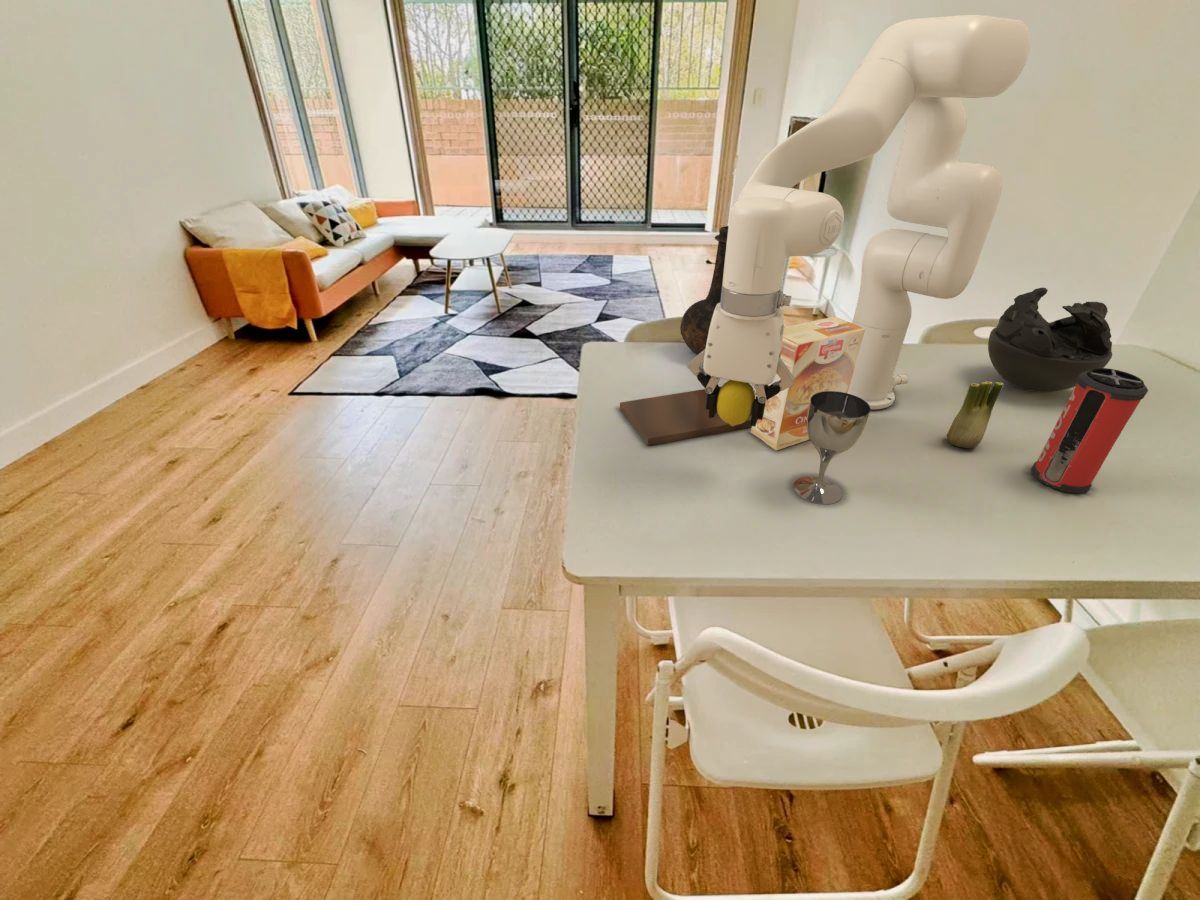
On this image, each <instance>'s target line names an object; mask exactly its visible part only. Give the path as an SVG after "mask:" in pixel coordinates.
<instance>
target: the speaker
mask: <svg viewBox="0 0 1200 900" xmlns="http://www.w3.org/2000/svg"><path fill="white" fill-rule="evenodd" d="M1148 392H1149V389H1148V387H1147V386H1146V384H1145V382H1144V380H1143V379H1142V378H1140V377H1138V376H1136V375H1134V374H1132V373H1130V372H1126V371H1123V370H1118V369H1113V368H1106V367H1104V368H1094V369H1091V370H1089V371H1086V372H1083V373H1081V374H1080V375H1079V377H1078V379H1077V384H1076V386H1075V387H1073V390H1072V392H1071V394H1070V396H1069V398H1068V400H1067V402H1066V404H1065V406H1064V408H1063V410H1062V411H1061V414H1060V416H1059V418H1058V420H1057V421H1056V423H1055V425H1054V426H1053V429H1052V431H1051V432H1050V435H1049V437H1048V439H1047V440H1046V442H1045V445H1044V447H1043V448H1042V450H1041V452H1040V454H1039V456H1038V458H1037V461H1035V462H1034V463H1033V465H1032V467H1031V473H1032V475H1033V476H1034V478H1035V479H1036V480H1037V481H1038V482H1040V483H1041V484H1043V485H1046V486H1048V487H1051V488H1052V489H1054V490H1056V491H1059V492H1063V493H1076V494H1077V493H1078V494H1080V493H1085V492H1088V491H1090V490H1091V488H1092V483H1093V481H1094V479H1095V478H1096V476H1097V474H1099V472H1100V470H1101V468H1102V466H1103V464H1104V462H1105V460H1106V459H1107V457H1108V455H1109V454H1110V453H1111V450H1112V449H1113V447H1114V446H1115V443H1116V442H1117V440H1118V439H1119V437H1120V435H1121V433H1122V432H1123V431H1124V428H1125V427H1126V425H1127V423H1128V422H1129V420H1130V419H1131V417H1132V416H1133V414H1134V412H1135V411H1136V409H1137V407H1138V406H1139V404H1140V402H1141V401H1142V400H1143V399H1144V398H1145V396H1146V395H1147V394H1148Z"/></svg>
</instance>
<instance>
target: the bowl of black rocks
mask: <svg viewBox="0 0 1200 900" xmlns="http://www.w3.org/2000/svg"><path fill="white" fill-rule="evenodd" d="M1048 291H1049V289H1047V287H1038V288H1035V289H1033V290H1032V291H1029V292H1025V293H1022V294H1018V295H1017V296H1016V297H1015V298H1013V301H1014V303H1013V304H1011V305H1009V307H1008V308H1007V309H1005V310H1004V312H1003V314H1002V315H1001V316H999V320H998V323H997V325H996V327H994V328H993V329H992V330H991V331H990V333H989V337H988V342H987V350H988V357H989V360H990V362H991V364H992V365H991V366H992V367H993V368H994V370H995V372H997V374H998V375H999V376H1000V377H1001V378H1002V379H1003V380H1005V381H1006V382H1007V383H1009V384H1011V385H1013V386H1015V387H1017V388H1018V389H1019V388H1020V389H1022V390H1025V391H1030V392H1035V393H1056V392H1061V391H1066V390H1069V389H1072V388H1073V389H1074V388H1075V386H1076V384H1077V379H1078V377H1079V375H1080V374H1081V373H1083V372H1086V371H1089V370H1091V369H1094V368H1106V366H1107V365H1108V364H1109V362H1110V361H1111V359H1112V357H1113V351H1112V349H1113V348H1112V346H1113V342H1112V340H1111V338H1112V333H1111V328H1110V325H1109V323H1108V321H1107V320H1106V316H1107V315H1108V312H1109V311H1108V307H1107V305H1106V303H1104V302H1101V301H1085V302H1083V303H1081V302H1074V303H1073V304H1072V305H1062V307H1061V308H1062V309H1063V310H1065V311H1066V312H1067V313H1069V314H1070V315H1069V316H1066V317H1063V318H1059V319H1056V320H1054V321H1051V322H1049V321H1047V320H1046V319H1045V318H1044V317H1043V315H1042V314H1041V313H1040V311H1039V302H1040V300H1041V299H1042V298H1043V297H1044V296H1045V295H1046V294H1047V293H1048Z"/></svg>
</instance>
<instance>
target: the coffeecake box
mask: <svg viewBox="0 0 1200 900" xmlns="http://www.w3.org/2000/svg"><path fill="white" fill-rule="evenodd" d="M865 330H866V329H864V328H862V327H860V326H858V325H855V324H853V323H852V322H850V321H847V320H844V319H842V318H841V317H840V318H839V317H837V316H831V317H825V318H821V319H816V320H811V321H806V322H801V323H797V324H793V325H788V326H784V331H783V343H782V351H781V360H782V361H783V362H784V364H785V365H786V367H787V368H788V369H789V371H790V372H791V374H792V375H793V376H794V378H795V381H794V384H793V385H792V386H790V387H789V388H787V389H785V390H782V391H780V392H779V393H778V394H777V395H775V396H773V397H772V398H770V399H768V400H767V401H766V403H765V409H764V415H763V418H762V420H760V419H758V421H757V423H756V426H755V427H754V426H752V427H751V428H750V433H751V434H752V435H753V436H755V437H756V438H758V439H760V440H761V441H762V442H763V443H765V444H766V445H767V446H769V447H770V448H771V449H773V450H774V451H780V450H783V449H786V448H788V447H791V446H794V445H798V444H801V443H803V442H806V441H810V439H809V437H808V433H807V413H808V408H809V403H810V399H811V397H812V396H813V395H814V394H816V393H819V392H825V391H836V392H843V393H848V389H849V386H850V382H851V379H852V375H853V371H854V368H855V364H856V361H857V357H858V353H859V350H860V346H861V343H862V339H863V336H864V332H865ZM779 380H781V378H780V377H779V376H778V374H777V373H776V375H775V377H774V380H773V382H772V383H771V384H773V383H774V382H778V381H779ZM771 384H768V385H769V386H770V385H771Z"/></svg>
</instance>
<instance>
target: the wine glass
mask: <svg viewBox="0 0 1200 900" xmlns="http://www.w3.org/2000/svg"><path fill="white" fill-rule="evenodd" d="M870 413H871V410H870V406H869V404H868V403H867V402H866V401H864V400H863V399H861V398H859V397H857V396H854V395H851V394H848V393H843V392H836V391H825V392H819V393H816V394H814V395H813V396H812V397H811V399H810V403H809V408H808V413H807V433H808V437H809V441H810V443H811V444H812V445H813V447H814V448H815V450H816V451H817V453H818V455H819V459H820V462H819V470H818V474H817V476H813V475H807V476H802V477H798V478H797V479H796V480H795V481H794V482H793V485H792V486H793V490H794V492H795V493H796V495H798V496H799V497H800V498H802V499H804V500H806V501H808V502H810V503H814V504H819V505H832V504H835V503H837V502H839V501H840V500H841V499H842V496H843V492H842V490H841V488H840V487H839V485H837V484H836V483H835V482H833V481H831V480H829V479H827V478H824V477H825V474H826V471H827V469H828V466H829V464H830V462H831V461H832V460H833V459H834V458H835V457H836V456H839V455H841V454H843V453H845V452H847V451H848V450H850V449H852V448H853V447H854V446H855V445H856V443H857V442H859V440H860V438H861V436H862V435H863V432H864V431H865V428H866V425H867V422H868V420H869V416H870Z"/></svg>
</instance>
